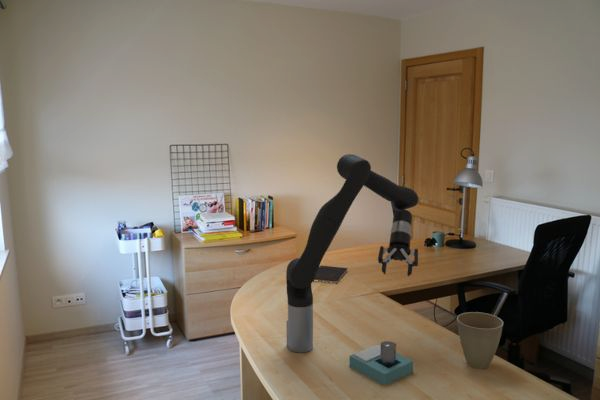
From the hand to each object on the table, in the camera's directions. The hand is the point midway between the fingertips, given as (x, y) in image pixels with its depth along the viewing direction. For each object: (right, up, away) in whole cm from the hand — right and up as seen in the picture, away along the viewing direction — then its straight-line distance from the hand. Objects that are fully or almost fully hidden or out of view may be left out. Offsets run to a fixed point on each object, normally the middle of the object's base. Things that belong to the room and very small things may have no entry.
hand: (396, 274), depth 182 cm
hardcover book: (-19, -15, +91) cm, 94 cm away
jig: (-7, -31, -10) cm, 33 cm away
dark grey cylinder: (-5, -31, -12) cm, 34 cm away
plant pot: (+27, -30, -6) cm, 41 cm away
